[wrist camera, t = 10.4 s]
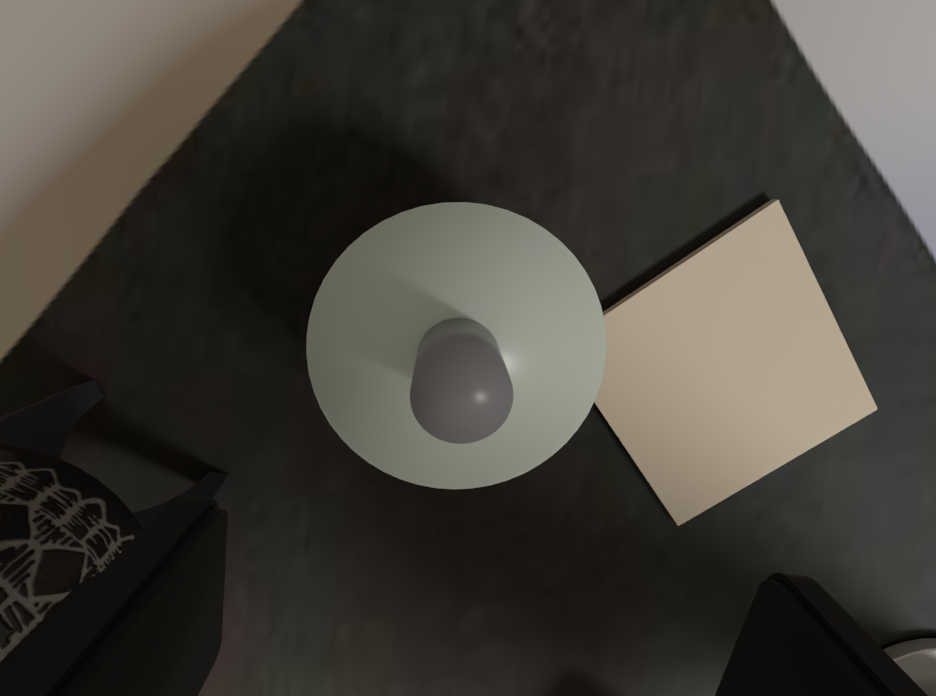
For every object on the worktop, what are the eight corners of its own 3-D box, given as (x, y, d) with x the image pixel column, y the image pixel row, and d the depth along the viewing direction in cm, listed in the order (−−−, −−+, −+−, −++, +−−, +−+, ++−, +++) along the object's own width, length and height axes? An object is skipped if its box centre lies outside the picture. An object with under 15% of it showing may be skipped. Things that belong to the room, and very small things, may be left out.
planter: (-28, 401, 28) (-787, 718, 11) (184, 337, 27) (-256, 561, 10) (87, 578, 31) (-338, 1023, 14) (275, 524, 31) (65, 919, 14)
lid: (651, 382, 23) (710, 433, 18) (427, 525, 24) (422, 608, 19) (496, 134, 19) (514, 110, 14) (248, 320, 21) (186, 356, 16)
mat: (869, 405, 30) (877, 409, 30) (674, 520, 32) (678, 526, 31) (770, 199, 26) (778, 199, 26) (554, 344, 28) (557, 346, 28)
